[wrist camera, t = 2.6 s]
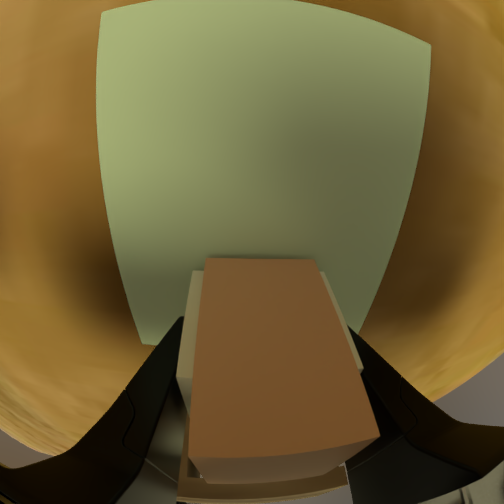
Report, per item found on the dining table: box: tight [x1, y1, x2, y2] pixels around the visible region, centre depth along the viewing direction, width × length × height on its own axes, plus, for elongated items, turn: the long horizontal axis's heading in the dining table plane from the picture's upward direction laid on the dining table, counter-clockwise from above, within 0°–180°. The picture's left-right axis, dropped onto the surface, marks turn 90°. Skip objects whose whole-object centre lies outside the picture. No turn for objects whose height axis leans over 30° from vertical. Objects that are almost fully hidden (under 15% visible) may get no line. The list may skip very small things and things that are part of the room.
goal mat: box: [96, 0, 431, 345], centre depth 8 cm, size 13×10×1 cm
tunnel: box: [176, 412, 348, 504], centre depth 13 cm, size 6×9×7 cm, turn 87°
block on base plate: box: [176, 258, 380, 484], centre depth 10 cm, size 14×4×6 cm, turn 177°
